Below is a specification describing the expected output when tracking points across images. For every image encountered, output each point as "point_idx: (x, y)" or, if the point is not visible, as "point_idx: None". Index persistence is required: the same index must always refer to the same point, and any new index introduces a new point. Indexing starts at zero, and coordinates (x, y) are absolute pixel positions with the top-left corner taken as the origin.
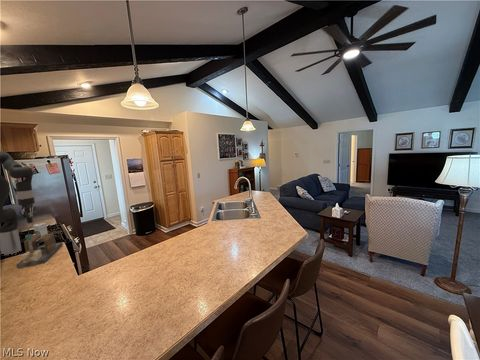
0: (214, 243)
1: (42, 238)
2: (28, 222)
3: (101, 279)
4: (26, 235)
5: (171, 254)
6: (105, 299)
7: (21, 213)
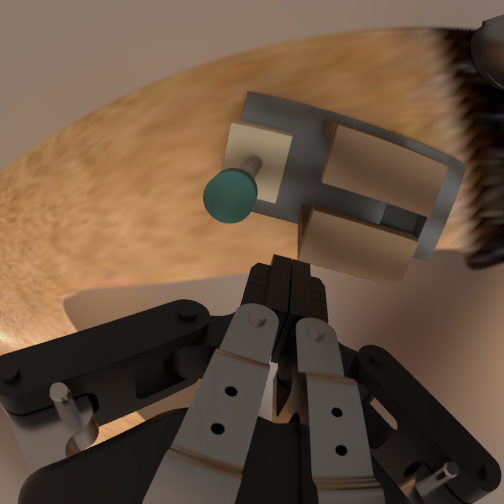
0: None
1: (319, 237)
2: (268, 267)
3: (49, 332)
4: (229, 183)
5: (113, 432)
6: (3, 321)
7: (25, 366)
